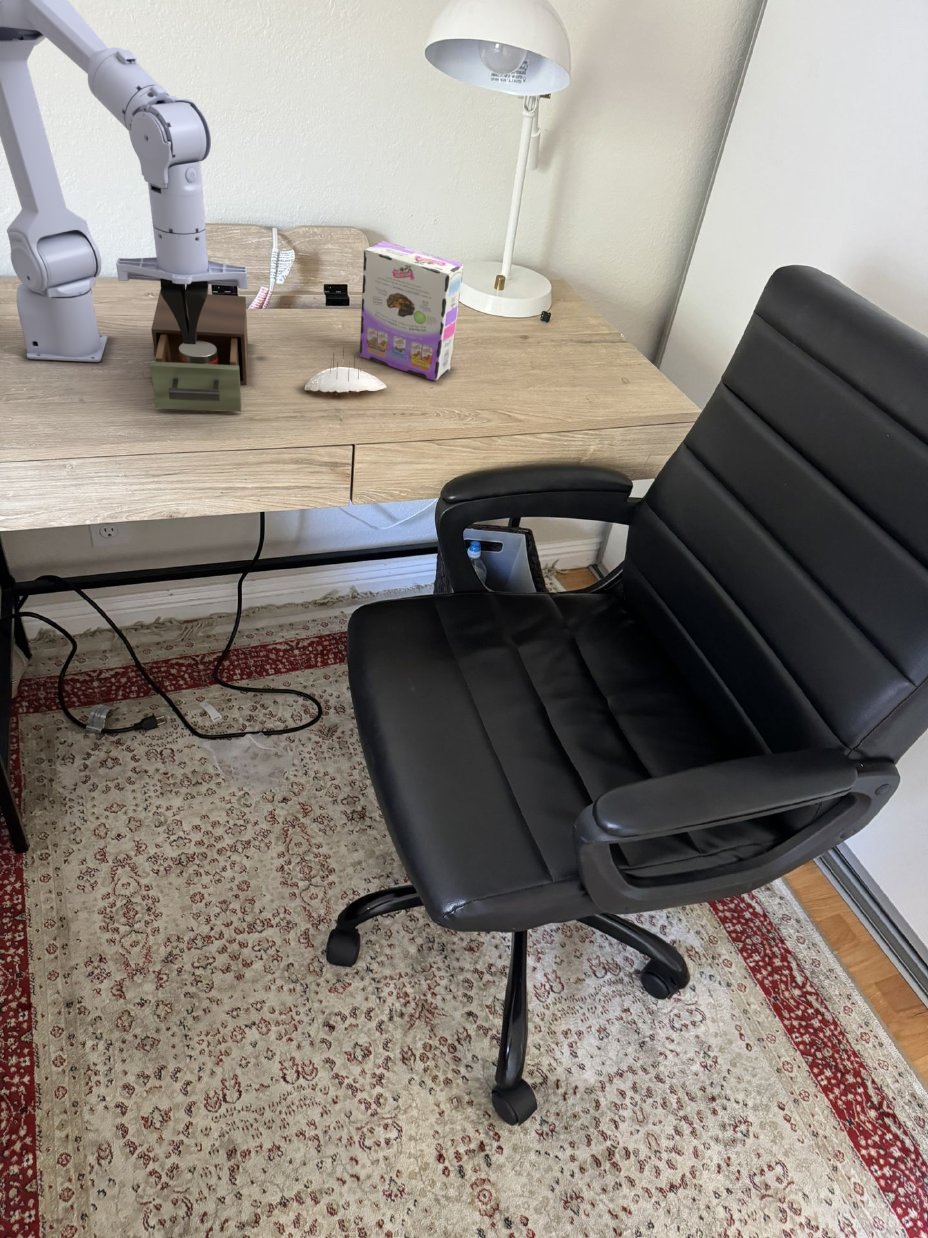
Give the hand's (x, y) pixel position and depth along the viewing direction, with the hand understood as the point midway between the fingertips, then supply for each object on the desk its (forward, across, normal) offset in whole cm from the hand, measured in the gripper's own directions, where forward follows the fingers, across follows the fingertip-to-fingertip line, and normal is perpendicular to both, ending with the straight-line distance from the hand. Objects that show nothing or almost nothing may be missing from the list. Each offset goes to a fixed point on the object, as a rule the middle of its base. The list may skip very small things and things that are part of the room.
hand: (190, 340), depth 101 cm
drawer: (+9, 0, +3) cm, 10 cm away
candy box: (+10, +30, +18) cm, 37 cm away
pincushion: (+10, +20, +8) cm, 24 cm away
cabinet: (+10, 0, +15) cm, 18 cm away
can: (+8, 0, +5) cm, 10 cm away
